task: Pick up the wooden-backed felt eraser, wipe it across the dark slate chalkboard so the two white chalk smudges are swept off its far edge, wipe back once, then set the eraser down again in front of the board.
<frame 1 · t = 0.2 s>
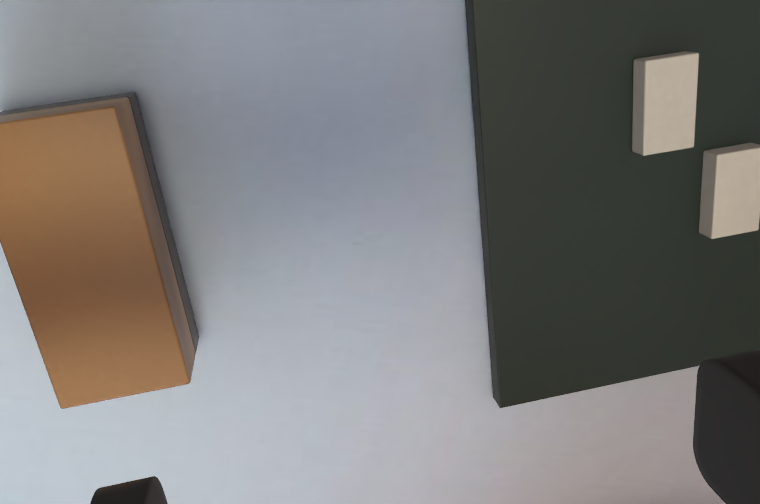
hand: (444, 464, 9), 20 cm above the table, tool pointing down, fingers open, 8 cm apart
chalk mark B: (724, 188, 30), point 1 cm above the table, touching chalkboard
chalkboard: (662, 181, 31), on the table
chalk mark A: (657, 102, 28), point 1 cm above the table, touching chalkboard
eraser: (109, 233, 27), on the table
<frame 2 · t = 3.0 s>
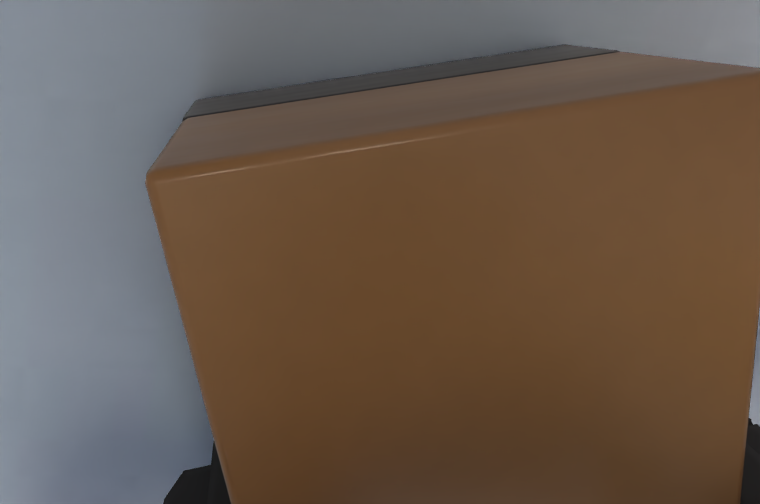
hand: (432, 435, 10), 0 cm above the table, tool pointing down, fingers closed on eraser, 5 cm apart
eraser: (427, 418, 11), on the table, touching gripper
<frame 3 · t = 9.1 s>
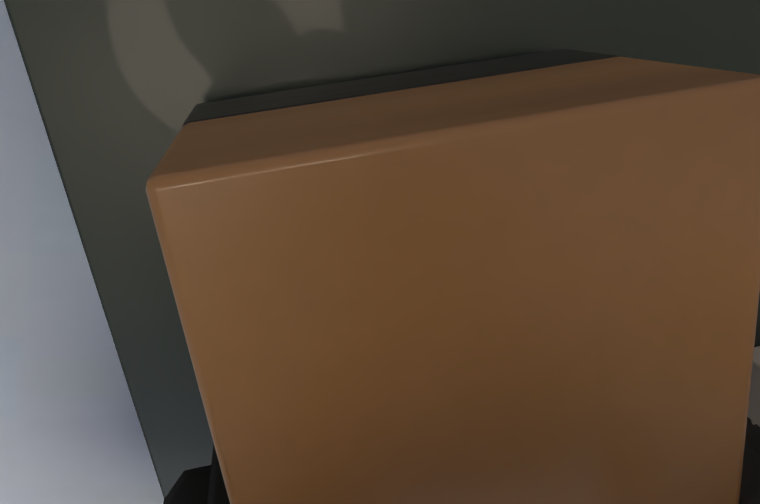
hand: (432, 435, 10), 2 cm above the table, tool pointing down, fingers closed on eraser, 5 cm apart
chalkboard: (637, 403, 13), on the table
eraser: (427, 421, 11), point 1 cm above the table, touching gripper
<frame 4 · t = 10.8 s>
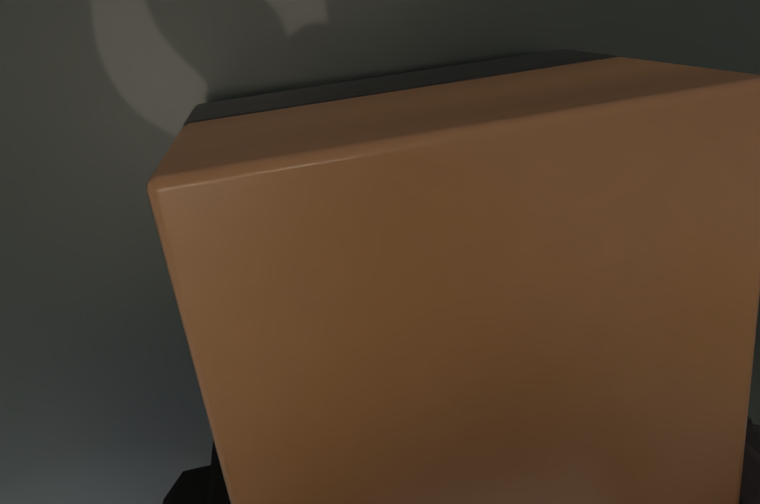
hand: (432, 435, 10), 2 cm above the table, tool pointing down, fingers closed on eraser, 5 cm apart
chalkboard: (304, 461, 12), on the table
eraser: (427, 421, 11), point 2 cm above the table, touching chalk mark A, gripper
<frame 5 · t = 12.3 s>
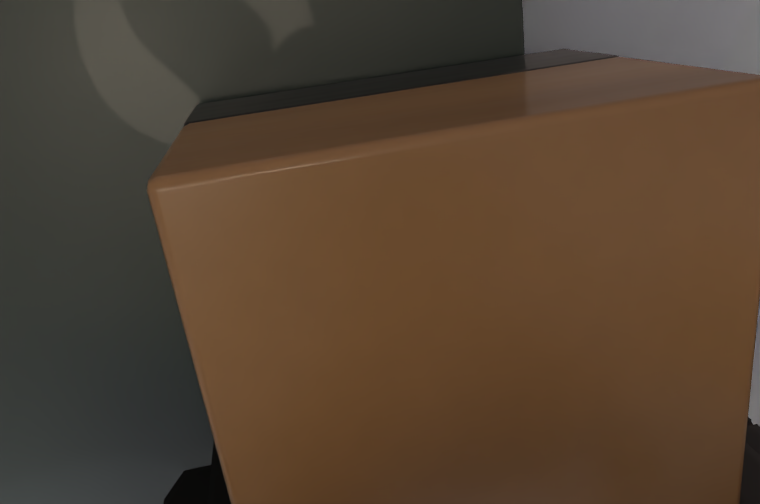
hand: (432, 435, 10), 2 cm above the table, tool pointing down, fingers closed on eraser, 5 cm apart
eraser: (428, 421, 11), point 1 cm above the table, touching gripper
when the fingers open (0 cm above the table, at t = 20.8 s): eraser stays where it is, on the table.
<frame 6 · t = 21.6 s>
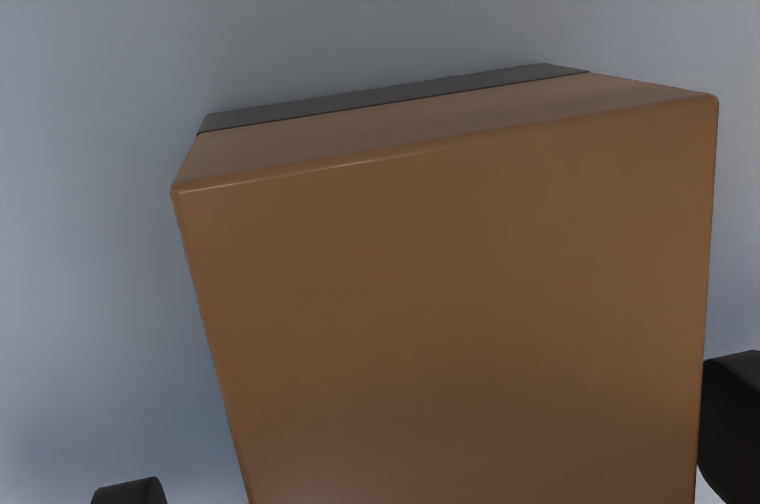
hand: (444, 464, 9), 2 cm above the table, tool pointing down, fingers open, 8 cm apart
eraser: (420, 408, 11), on the table
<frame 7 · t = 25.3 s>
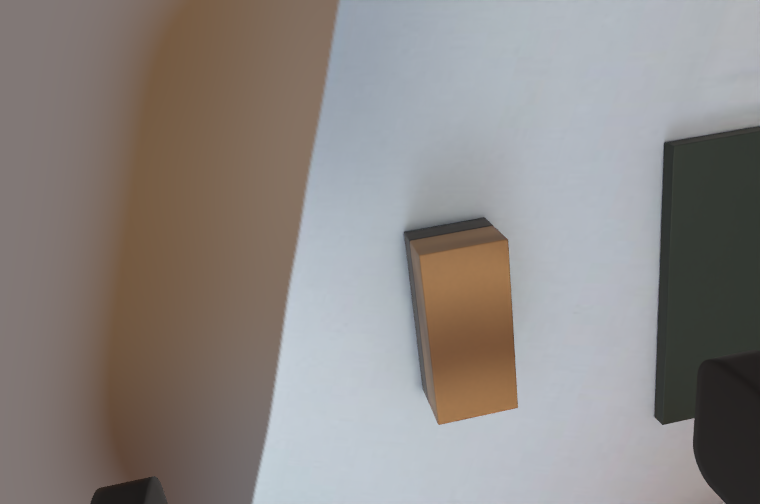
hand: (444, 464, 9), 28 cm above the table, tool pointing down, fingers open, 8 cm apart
eraser: (452, 307, 41), on the table
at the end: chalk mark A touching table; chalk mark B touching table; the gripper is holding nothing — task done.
